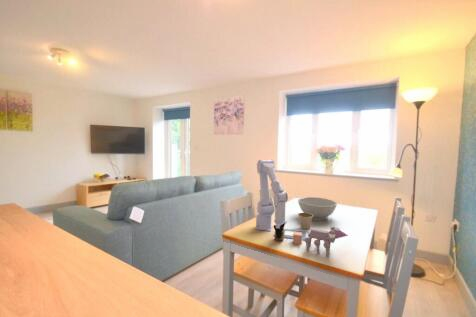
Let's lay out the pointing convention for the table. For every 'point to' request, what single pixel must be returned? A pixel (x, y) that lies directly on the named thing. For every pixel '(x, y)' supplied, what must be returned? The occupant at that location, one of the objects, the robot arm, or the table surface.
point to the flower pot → (305, 220)
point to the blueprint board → (289, 233)
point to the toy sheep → (323, 238)
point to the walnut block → (281, 236)
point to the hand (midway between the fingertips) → (279, 236)
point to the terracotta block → (297, 237)
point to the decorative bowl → (317, 207)
